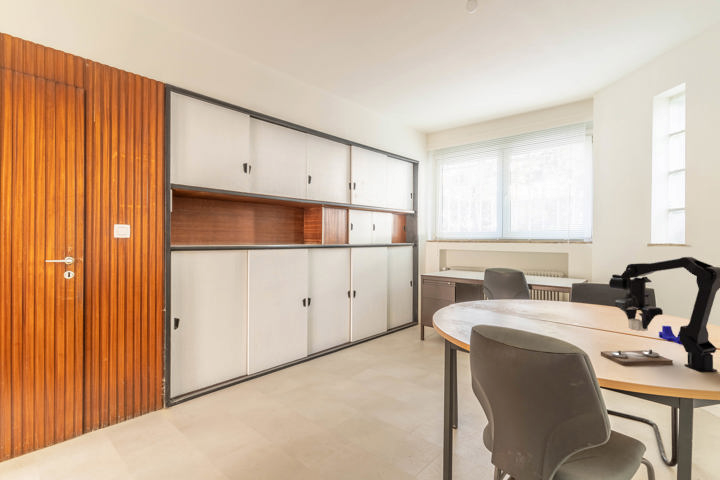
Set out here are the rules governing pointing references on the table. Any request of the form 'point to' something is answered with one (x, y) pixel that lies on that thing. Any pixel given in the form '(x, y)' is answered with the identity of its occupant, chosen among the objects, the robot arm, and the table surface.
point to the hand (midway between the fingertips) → (638, 326)
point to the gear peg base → (645, 353)
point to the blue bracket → (669, 334)
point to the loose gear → (636, 325)
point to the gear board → (636, 358)
